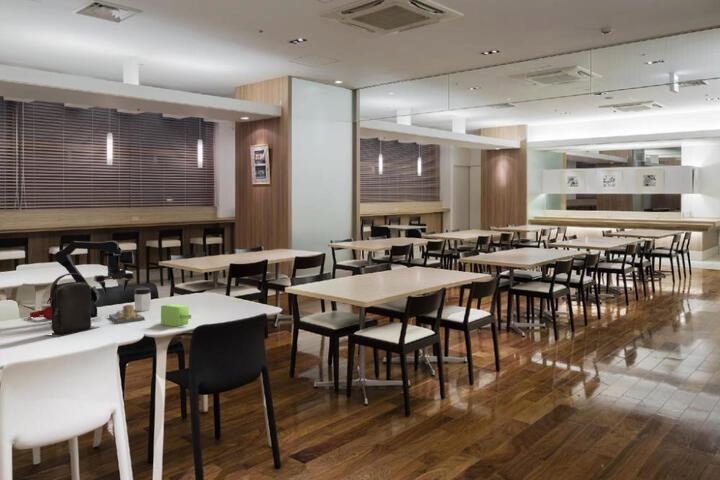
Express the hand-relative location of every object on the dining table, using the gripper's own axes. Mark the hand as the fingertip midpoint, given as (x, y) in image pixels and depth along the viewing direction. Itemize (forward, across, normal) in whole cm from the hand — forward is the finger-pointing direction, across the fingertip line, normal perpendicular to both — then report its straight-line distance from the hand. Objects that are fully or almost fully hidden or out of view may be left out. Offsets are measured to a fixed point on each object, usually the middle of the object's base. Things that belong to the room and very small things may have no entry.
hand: (114, 293), depth 310 cm
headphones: (+12, -29, +18) cm, 37 cm away
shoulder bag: (+12, -26, -25) cm, 38 cm away
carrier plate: (+12, +2, -14) cm, 18 cm away
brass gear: (+10, +2, -18) cm, 21 cm away
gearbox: (+12, +19, -42) cm, 48 cm away
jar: (+12, +16, +5) cm, 21 cm away
